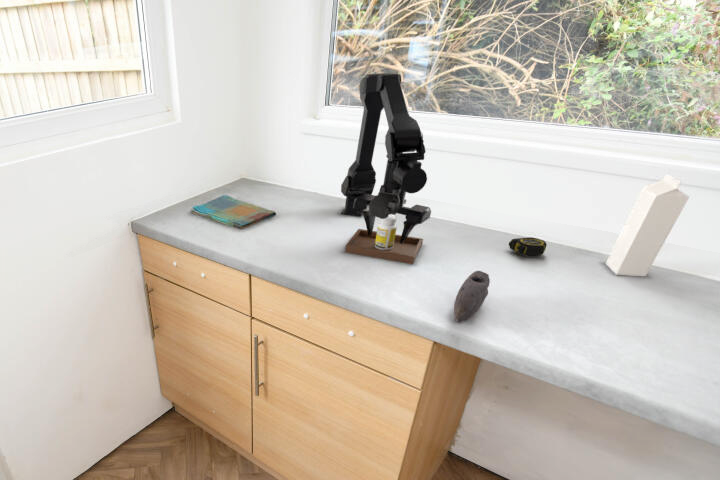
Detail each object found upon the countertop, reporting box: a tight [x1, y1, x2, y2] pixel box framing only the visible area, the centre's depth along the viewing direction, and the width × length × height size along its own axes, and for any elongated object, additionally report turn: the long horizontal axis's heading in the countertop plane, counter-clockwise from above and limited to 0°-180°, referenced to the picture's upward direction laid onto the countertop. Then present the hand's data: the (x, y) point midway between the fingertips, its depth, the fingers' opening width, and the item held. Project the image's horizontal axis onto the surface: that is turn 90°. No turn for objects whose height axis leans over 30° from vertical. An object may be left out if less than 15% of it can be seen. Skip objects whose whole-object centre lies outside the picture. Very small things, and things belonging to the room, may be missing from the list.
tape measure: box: [508, 236, 547, 258], centre depth 121 cm, size 7×7×4 cm
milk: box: [605, 173, 690, 277], centre depth 107 cm, size 6×6×22 cm
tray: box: [344, 228, 424, 265], centre depth 128 cm, size 13×18×2 cm
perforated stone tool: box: [453, 270, 491, 323], centre depth 99 cm, size 15×5×7 cm, turn 141°
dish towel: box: [189, 194, 277, 230], centre depth 154 cm, size 17×23×2 cm
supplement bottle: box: [375, 214, 398, 250], centre depth 126 cm, size 5×5×8 cm
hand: (385, 239), depth 127 cm, fingers open, 9 cm apart
